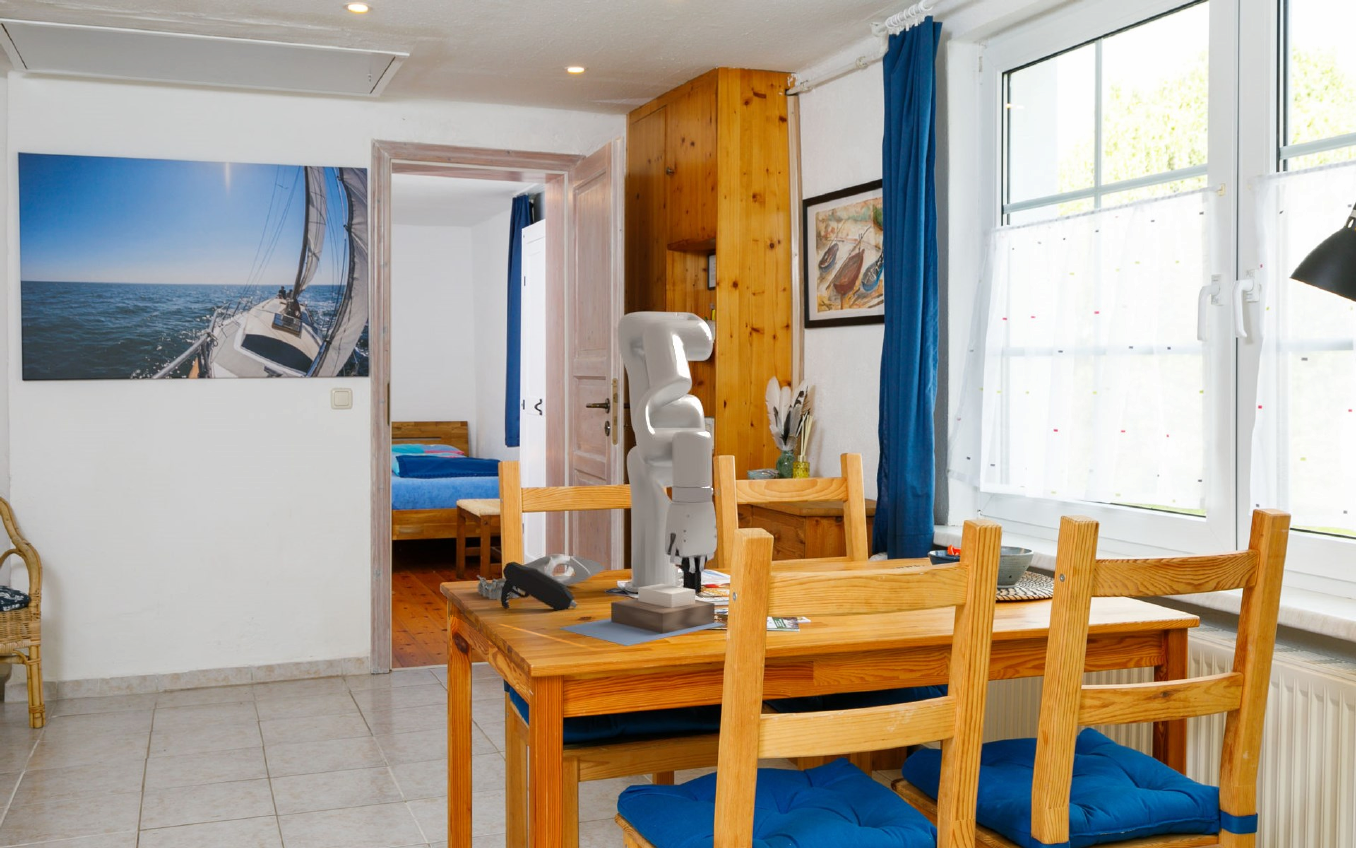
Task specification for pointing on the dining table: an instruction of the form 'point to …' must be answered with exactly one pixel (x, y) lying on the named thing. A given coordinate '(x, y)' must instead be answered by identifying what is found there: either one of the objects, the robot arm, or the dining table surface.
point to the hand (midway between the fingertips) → (692, 592)
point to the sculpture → (577, 564)
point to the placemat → (626, 632)
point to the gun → (535, 587)
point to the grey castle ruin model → (494, 588)
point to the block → (662, 615)
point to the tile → (666, 595)
